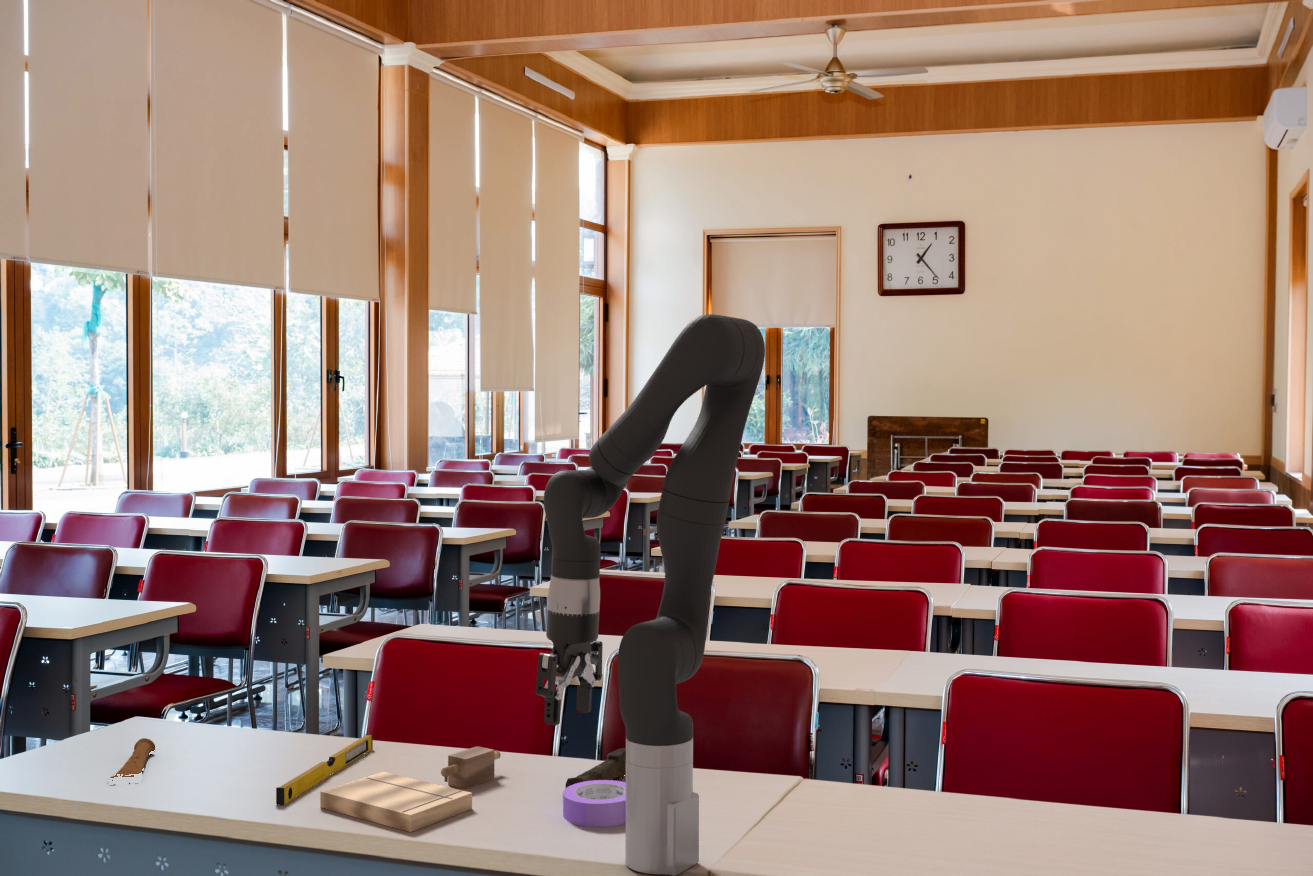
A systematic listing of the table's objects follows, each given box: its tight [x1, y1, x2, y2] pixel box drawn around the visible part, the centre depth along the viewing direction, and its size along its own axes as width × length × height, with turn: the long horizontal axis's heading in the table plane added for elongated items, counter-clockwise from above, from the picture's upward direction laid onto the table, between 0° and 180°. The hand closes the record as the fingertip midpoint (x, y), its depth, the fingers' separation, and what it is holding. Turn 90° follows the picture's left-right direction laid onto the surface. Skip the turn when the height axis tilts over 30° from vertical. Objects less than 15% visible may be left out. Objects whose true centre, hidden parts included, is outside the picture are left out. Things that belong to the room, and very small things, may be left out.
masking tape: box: [562, 780, 626, 828], centre depth 181 cm, size 12×12×4 cm
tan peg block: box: [440, 746, 501, 790], centre depth 198 cm, size 4×13×5 cm, turn 146°
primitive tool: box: [109, 737, 156, 781], centre depth 205 cm, size 19×6×4 cm, turn 16°
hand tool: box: [564, 747, 626, 790], centre depth 196 cm, size 19×4×5 cm, turn 152°
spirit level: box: [275, 733, 374, 806], centre depth 202 cm, size 33×1×3 cm, turn 170°
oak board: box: [319, 771, 473, 833], centre depth 184 cm, size 20×13×3 cm, turn 56°
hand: (568, 718), depth 171 cm, fingers open, 8 cm apart
